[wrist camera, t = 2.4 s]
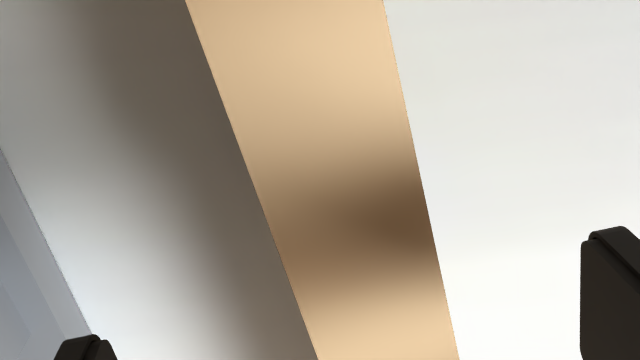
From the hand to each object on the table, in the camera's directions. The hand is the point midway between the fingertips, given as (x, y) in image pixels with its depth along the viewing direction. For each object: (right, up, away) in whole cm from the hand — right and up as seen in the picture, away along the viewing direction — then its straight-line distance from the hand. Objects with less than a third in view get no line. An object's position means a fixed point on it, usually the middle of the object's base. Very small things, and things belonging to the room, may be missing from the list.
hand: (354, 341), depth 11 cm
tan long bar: (0, +4, +7) cm, 8 cm away
